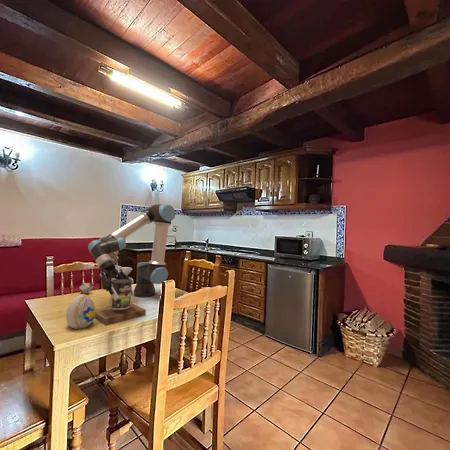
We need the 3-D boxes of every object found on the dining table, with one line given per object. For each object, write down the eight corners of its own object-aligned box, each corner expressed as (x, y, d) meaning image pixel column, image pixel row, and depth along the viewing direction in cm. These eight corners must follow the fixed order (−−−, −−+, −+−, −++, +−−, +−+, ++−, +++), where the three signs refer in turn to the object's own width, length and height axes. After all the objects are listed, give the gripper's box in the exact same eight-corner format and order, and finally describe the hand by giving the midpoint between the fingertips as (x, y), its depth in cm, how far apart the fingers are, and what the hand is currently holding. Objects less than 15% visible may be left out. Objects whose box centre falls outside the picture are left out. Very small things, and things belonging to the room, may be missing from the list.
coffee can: (134, 306, 140) (135, 281, 140) (116, 311, 132) (118, 283, 132) (123, 302, 147) (125, 278, 147) (106, 306, 138) (107, 280, 138)
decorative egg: (80, 332, 117) (82, 299, 117) (59, 328, 121) (60, 296, 121) (100, 323, 129) (101, 293, 129) (80, 319, 132) (81, 290, 133)
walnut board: (132, 308, 152) (133, 303, 152) (145, 315, 143) (145, 309, 143) (93, 317, 136) (94, 311, 136) (105, 325, 127) (105, 319, 127)
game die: (82, 298, 180) (79, 285, 184) (95, 293, 183) (92, 281, 187) (78, 295, 172) (75, 282, 176) (91, 290, 175) (88, 277, 179)
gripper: (118, 266, 156) (136, 296, 149) (83, 270, 136) (103, 306, 129) (125, 258, 154) (144, 288, 147) (91, 261, 134) (111, 297, 127)
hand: (125, 296), depth 138 cm, fingers closed on coffee can, 10 cm apart
